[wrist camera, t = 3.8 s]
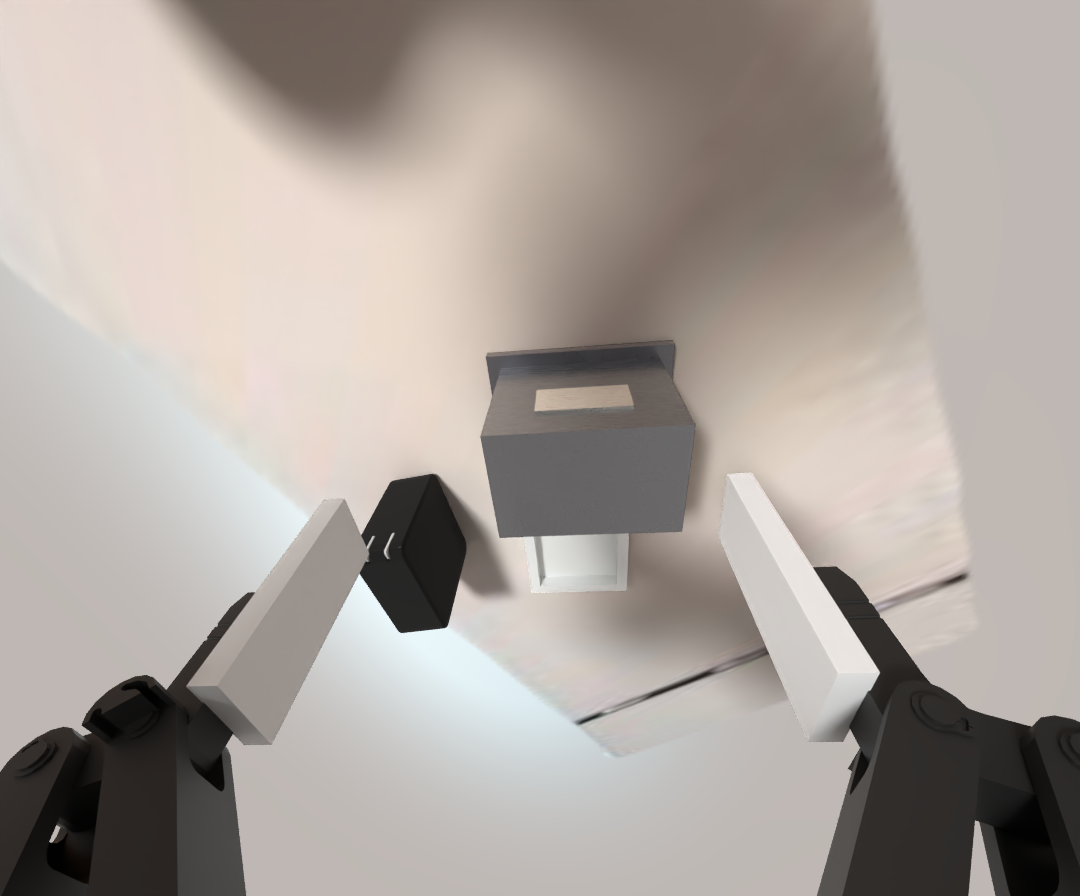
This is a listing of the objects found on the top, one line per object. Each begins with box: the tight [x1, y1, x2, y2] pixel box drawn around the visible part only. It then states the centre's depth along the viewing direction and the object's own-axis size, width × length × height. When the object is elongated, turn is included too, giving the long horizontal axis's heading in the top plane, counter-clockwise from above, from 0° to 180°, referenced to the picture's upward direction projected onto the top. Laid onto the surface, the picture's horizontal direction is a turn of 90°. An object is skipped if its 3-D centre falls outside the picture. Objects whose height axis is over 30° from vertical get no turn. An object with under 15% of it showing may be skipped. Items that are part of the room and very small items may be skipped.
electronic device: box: [360, 474, 466, 633], centre depth 38 cm, size 4×10×10 cm, turn 14°
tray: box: [523, 533, 629, 593], centre depth 42 cm, size 16×10×2 cm, turn 5°
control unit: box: [480, 340, 695, 538], centre depth 31 cm, size 10×14×11 cm
